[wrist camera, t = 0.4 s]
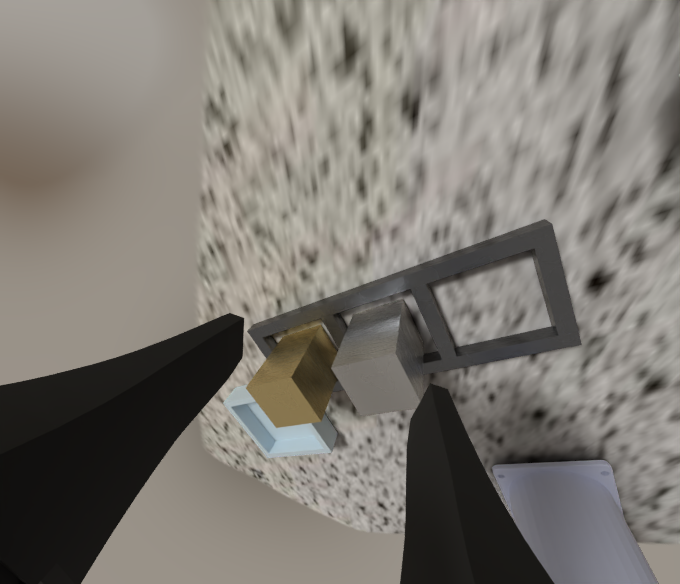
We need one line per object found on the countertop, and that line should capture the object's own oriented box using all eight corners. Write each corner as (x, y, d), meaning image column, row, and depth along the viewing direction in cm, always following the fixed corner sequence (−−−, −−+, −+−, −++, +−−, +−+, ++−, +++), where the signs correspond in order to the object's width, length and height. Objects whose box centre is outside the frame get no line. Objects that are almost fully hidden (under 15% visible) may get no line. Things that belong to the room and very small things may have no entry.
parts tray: (337, 433, 28) (331, 452, 27) (276, 440, 32) (267, 457, 30) (297, 372, 26) (287, 389, 24) (235, 387, 29) (223, 403, 28)
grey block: (423, 342, 21) (423, 407, 16) (375, 354, 23) (360, 416, 18) (402, 298, 20) (395, 353, 15) (353, 314, 21) (331, 368, 16)
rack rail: (574, 334, 18) (581, 344, 17) (298, 391, 27) (294, 399, 26) (544, 219, 15) (551, 223, 14) (253, 324, 25) (247, 331, 24)
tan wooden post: (343, 361, 24) (321, 421, 19) (305, 371, 26) (276, 427, 20) (320, 324, 23) (291, 377, 18) (283, 336, 24) (245, 387, 19)
